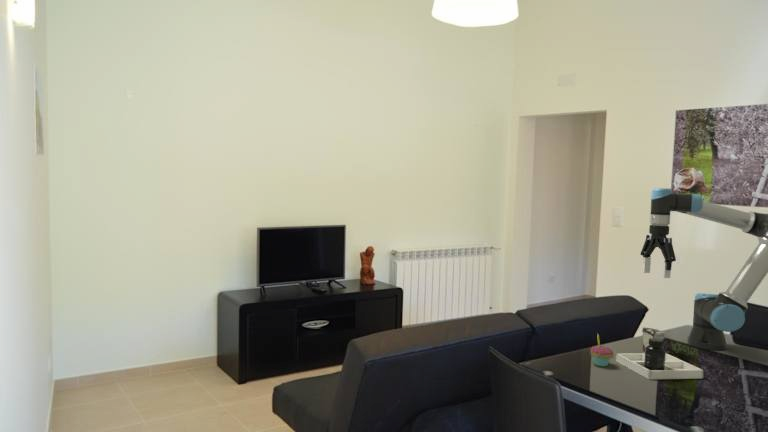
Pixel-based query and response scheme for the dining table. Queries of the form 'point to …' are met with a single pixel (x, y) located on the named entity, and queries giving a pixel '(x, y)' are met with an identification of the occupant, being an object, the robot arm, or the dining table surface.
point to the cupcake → (601, 354)
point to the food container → (651, 336)
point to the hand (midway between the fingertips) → (656, 275)
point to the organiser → (672, 370)
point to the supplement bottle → (655, 355)
